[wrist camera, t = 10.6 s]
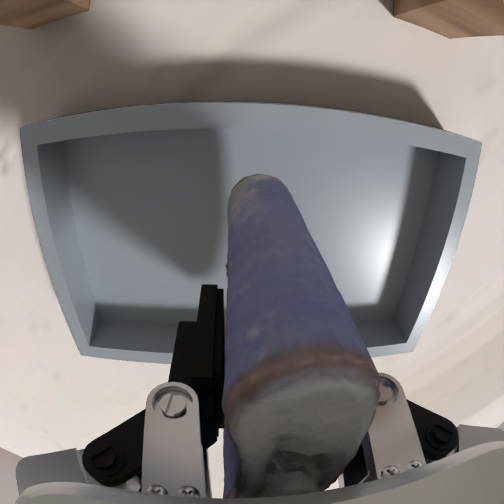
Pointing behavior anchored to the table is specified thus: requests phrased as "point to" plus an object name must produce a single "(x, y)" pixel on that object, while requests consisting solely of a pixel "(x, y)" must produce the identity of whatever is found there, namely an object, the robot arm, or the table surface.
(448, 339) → the table surface
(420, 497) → the robot arm
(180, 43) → the table surface
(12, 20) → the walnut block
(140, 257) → the tray
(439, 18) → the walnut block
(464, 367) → the table surface
